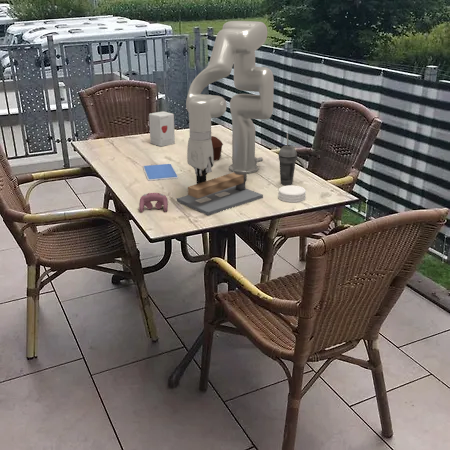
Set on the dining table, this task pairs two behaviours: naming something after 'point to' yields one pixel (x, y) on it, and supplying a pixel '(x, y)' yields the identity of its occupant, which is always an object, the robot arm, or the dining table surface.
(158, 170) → the tablet computer
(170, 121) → the supplement box
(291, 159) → the beverage cup
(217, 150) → the muffin
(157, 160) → the dining table surface
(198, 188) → the swing bar
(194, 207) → the label panel
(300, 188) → the white round container
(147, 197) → the video game controller
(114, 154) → the dining table surface
